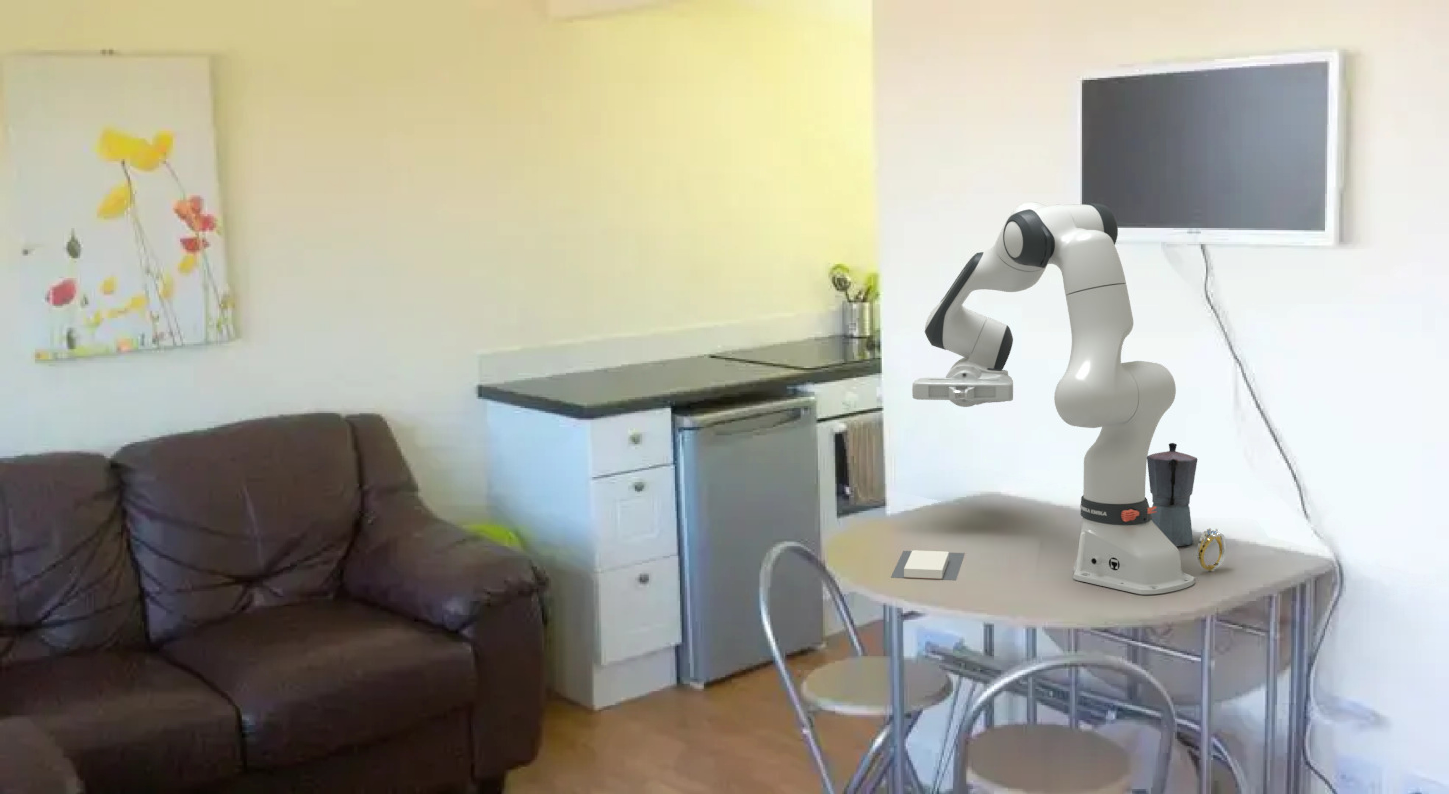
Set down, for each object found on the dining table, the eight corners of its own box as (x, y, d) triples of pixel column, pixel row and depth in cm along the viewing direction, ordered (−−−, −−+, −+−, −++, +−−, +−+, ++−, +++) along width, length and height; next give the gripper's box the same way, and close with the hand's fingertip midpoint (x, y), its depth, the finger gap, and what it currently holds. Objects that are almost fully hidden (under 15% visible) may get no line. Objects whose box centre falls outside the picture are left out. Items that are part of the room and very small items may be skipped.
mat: (903, 553, 302) (903, 550, 302) (964, 555, 299) (964, 553, 299) (890, 580, 284) (890, 577, 284) (955, 582, 281) (955, 580, 281)
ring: (1204, 576, 281) (1205, 533, 280) (1191, 572, 284) (1192, 530, 282) (1231, 570, 284) (1232, 528, 283) (1218, 566, 287) (1219, 524, 286)
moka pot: (1191, 534, 311) (1193, 437, 307) (1201, 554, 296) (1203, 452, 292) (1142, 533, 312) (1144, 436, 309) (1149, 553, 297) (1151, 451, 294)
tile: (912, 550, 295) (903, 568, 283) (948, 551, 293) (942, 570, 281) (912, 559, 295) (904, 578, 283) (949, 560, 294) (942, 579, 281)
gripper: (915, 369, 319) (907, 379, 306) (1015, 370, 314) (1011, 380, 301) (915, 399, 320) (907, 410, 307) (1015, 400, 315) (1011, 412, 302)
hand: (959, 395), depth 304 cm, fingers closed
